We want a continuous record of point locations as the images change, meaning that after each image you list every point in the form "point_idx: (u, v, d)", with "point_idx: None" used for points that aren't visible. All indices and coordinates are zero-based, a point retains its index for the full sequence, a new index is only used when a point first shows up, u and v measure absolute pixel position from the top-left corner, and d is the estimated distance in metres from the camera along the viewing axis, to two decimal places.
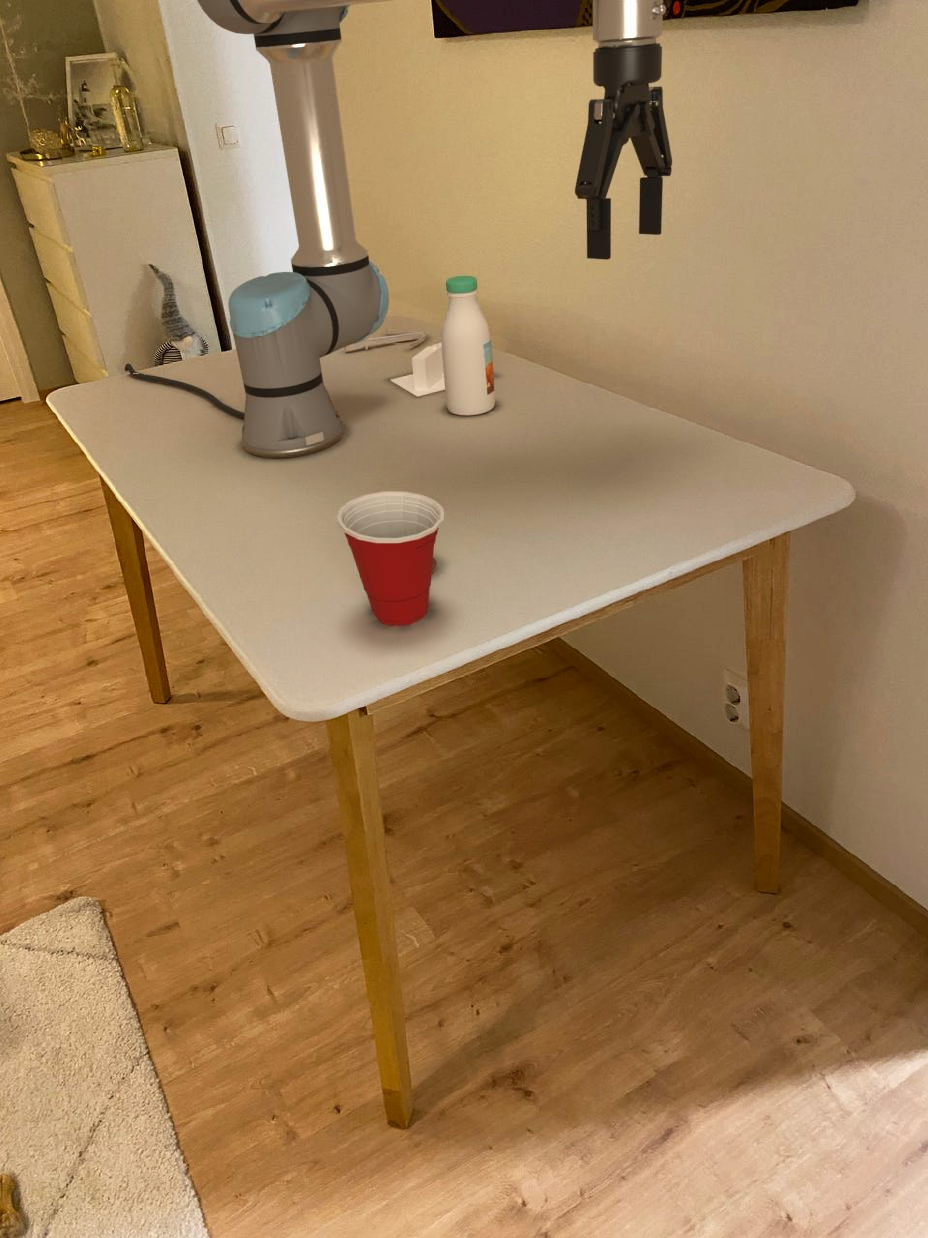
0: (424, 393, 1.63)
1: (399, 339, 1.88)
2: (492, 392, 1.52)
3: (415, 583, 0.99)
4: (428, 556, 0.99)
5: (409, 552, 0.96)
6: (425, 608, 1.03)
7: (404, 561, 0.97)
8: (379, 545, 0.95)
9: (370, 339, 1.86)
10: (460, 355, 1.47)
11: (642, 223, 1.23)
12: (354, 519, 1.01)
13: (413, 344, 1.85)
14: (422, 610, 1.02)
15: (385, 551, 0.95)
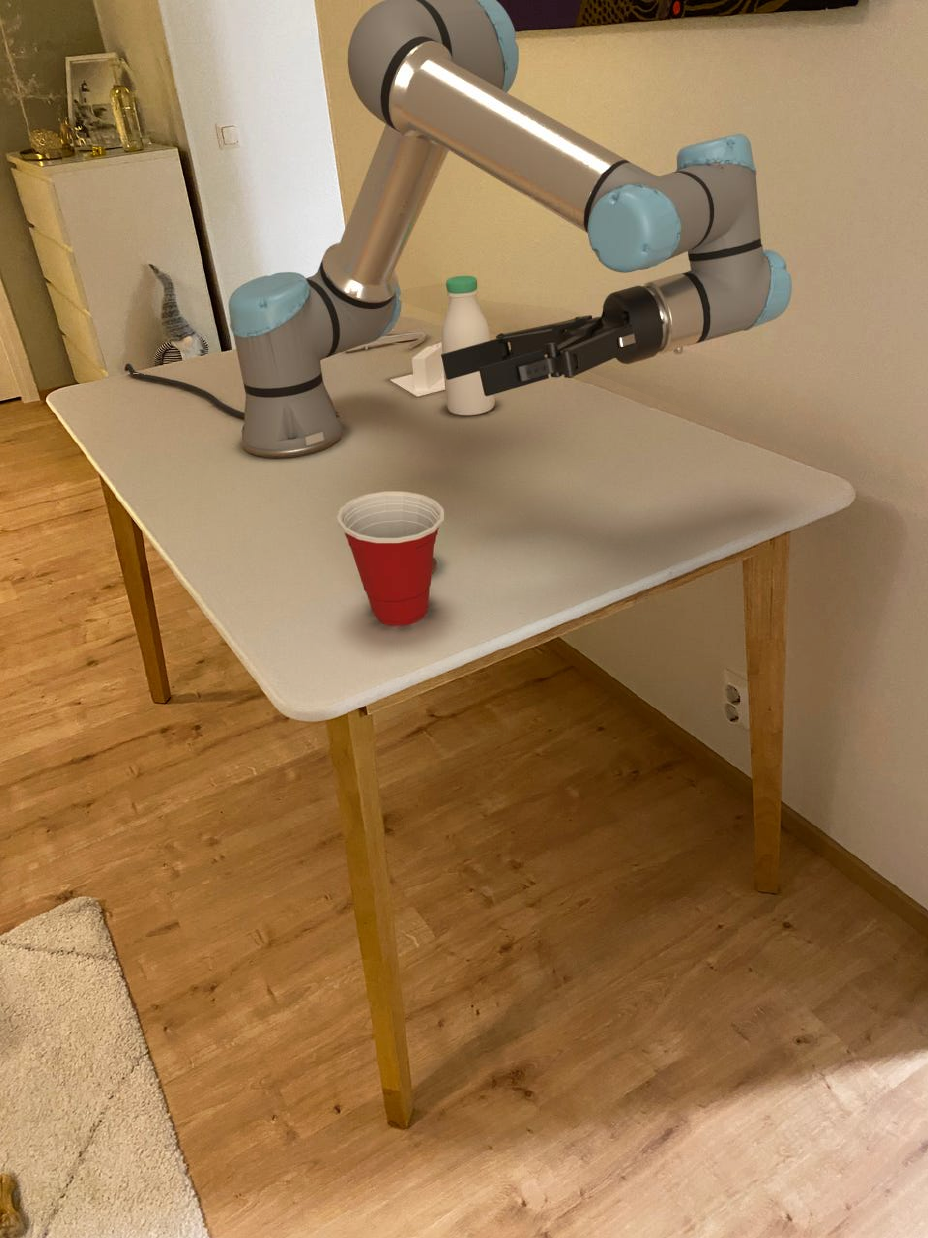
0: (424, 393, 1.63)
1: (399, 339, 1.88)
2: None
3: (415, 583, 0.99)
4: (428, 556, 0.99)
5: (409, 552, 0.96)
6: (425, 608, 1.03)
7: (404, 561, 0.97)
8: (379, 545, 0.95)
9: None
10: None
11: (454, 356, 1.05)
12: (354, 519, 1.01)
13: (413, 344, 1.85)
14: (422, 610, 1.02)
15: (385, 551, 0.95)
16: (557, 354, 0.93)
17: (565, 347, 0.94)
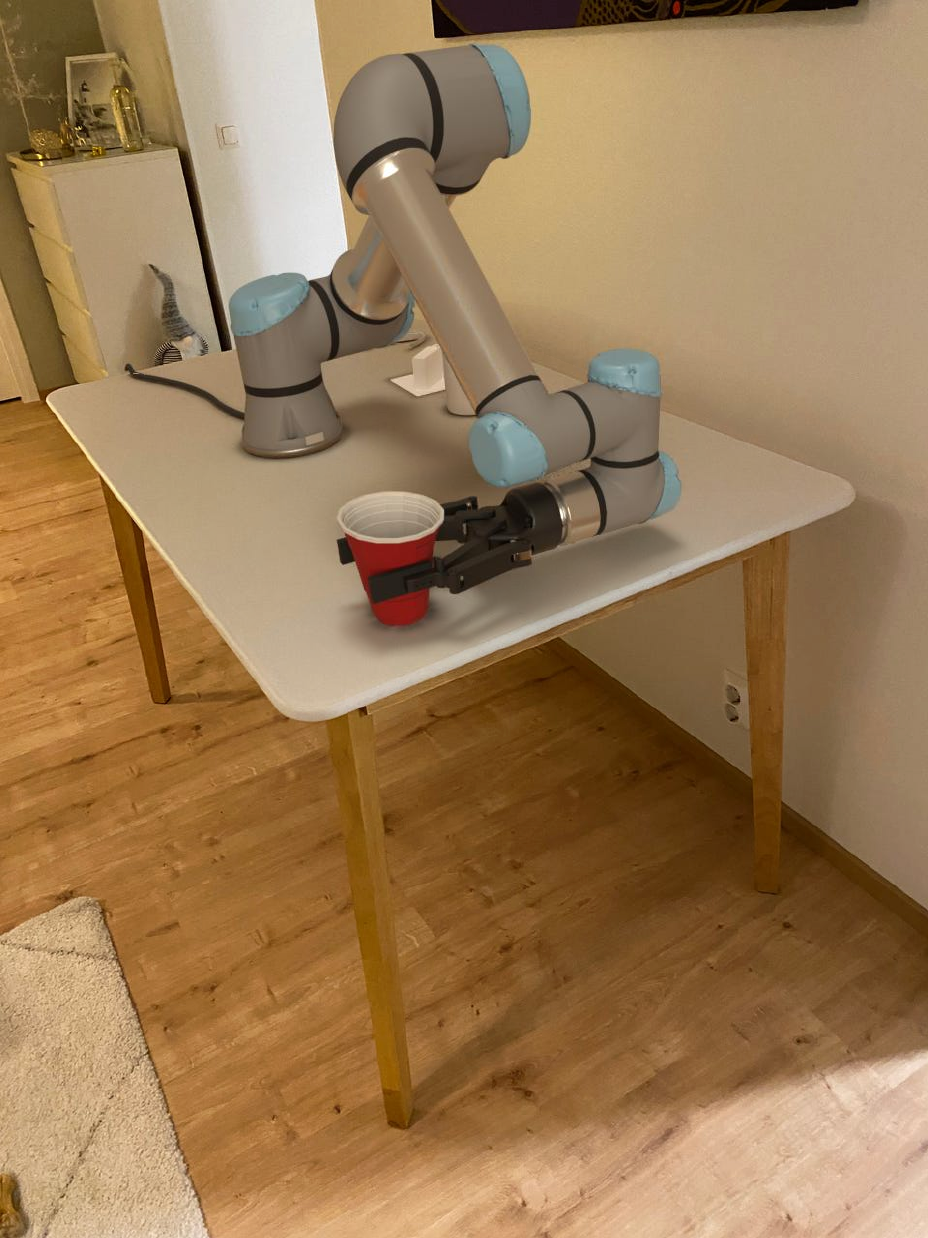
0: (424, 393, 1.63)
1: None
2: None
3: None
4: (428, 556, 0.99)
5: (409, 552, 0.96)
6: (425, 608, 1.03)
7: (404, 561, 0.97)
8: (379, 545, 0.95)
9: None
10: None
11: None
12: (354, 519, 1.01)
13: (413, 344, 1.85)
14: (422, 610, 1.02)
15: (385, 551, 0.95)
16: (443, 569, 0.97)
17: (454, 560, 0.97)
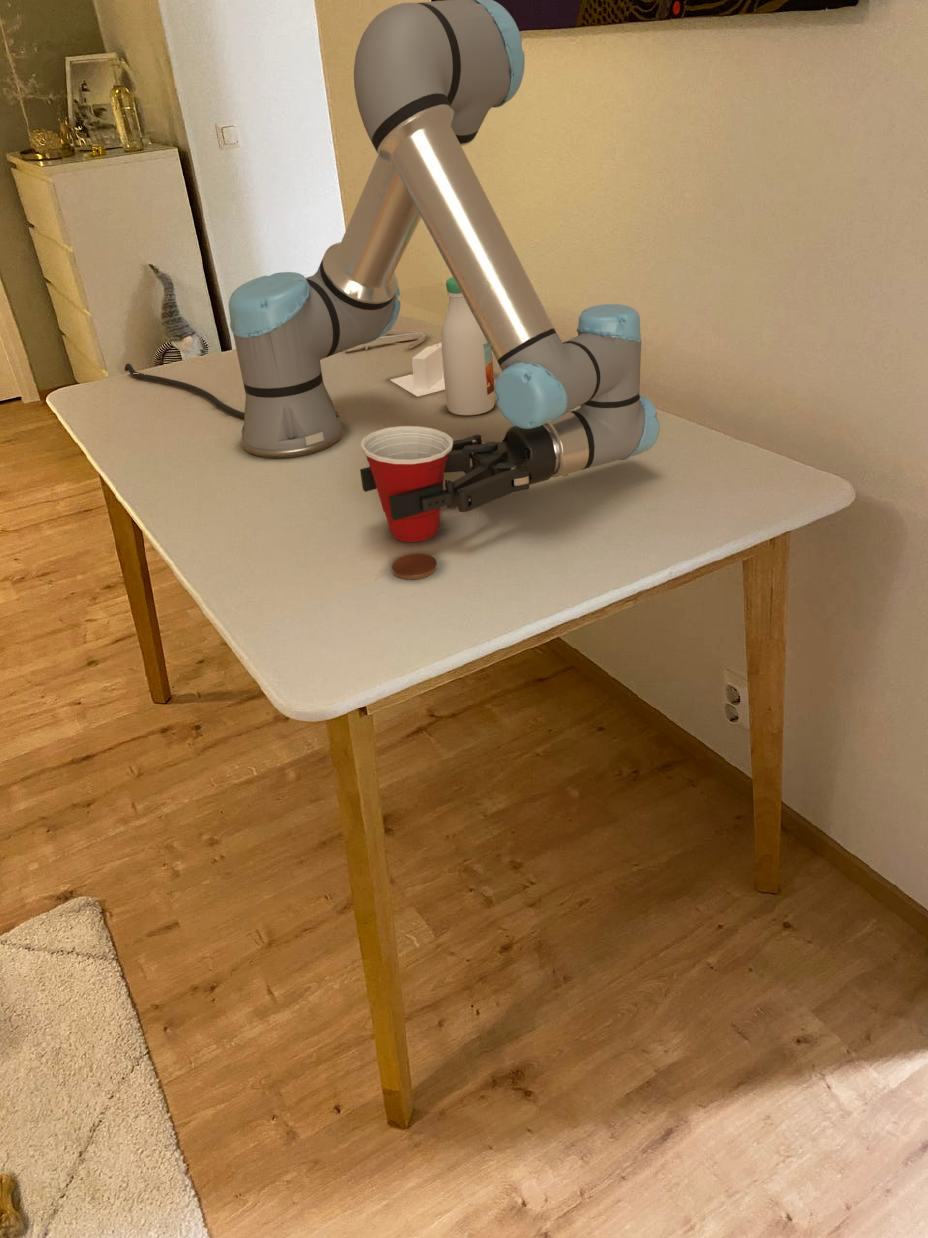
0: (424, 393, 1.63)
1: (399, 339, 1.88)
2: (492, 392, 1.52)
3: None
4: (438, 479, 1.14)
5: (422, 473, 1.12)
6: (436, 527, 1.18)
7: (417, 482, 1.12)
8: (396, 466, 1.10)
9: None
10: (460, 355, 1.47)
11: None
12: (376, 448, 1.17)
13: (413, 344, 1.85)
14: (433, 529, 1.18)
15: (401, 472, 1.11)
16: (453, 491, 1.12)
17: (462, 484, 1.13)
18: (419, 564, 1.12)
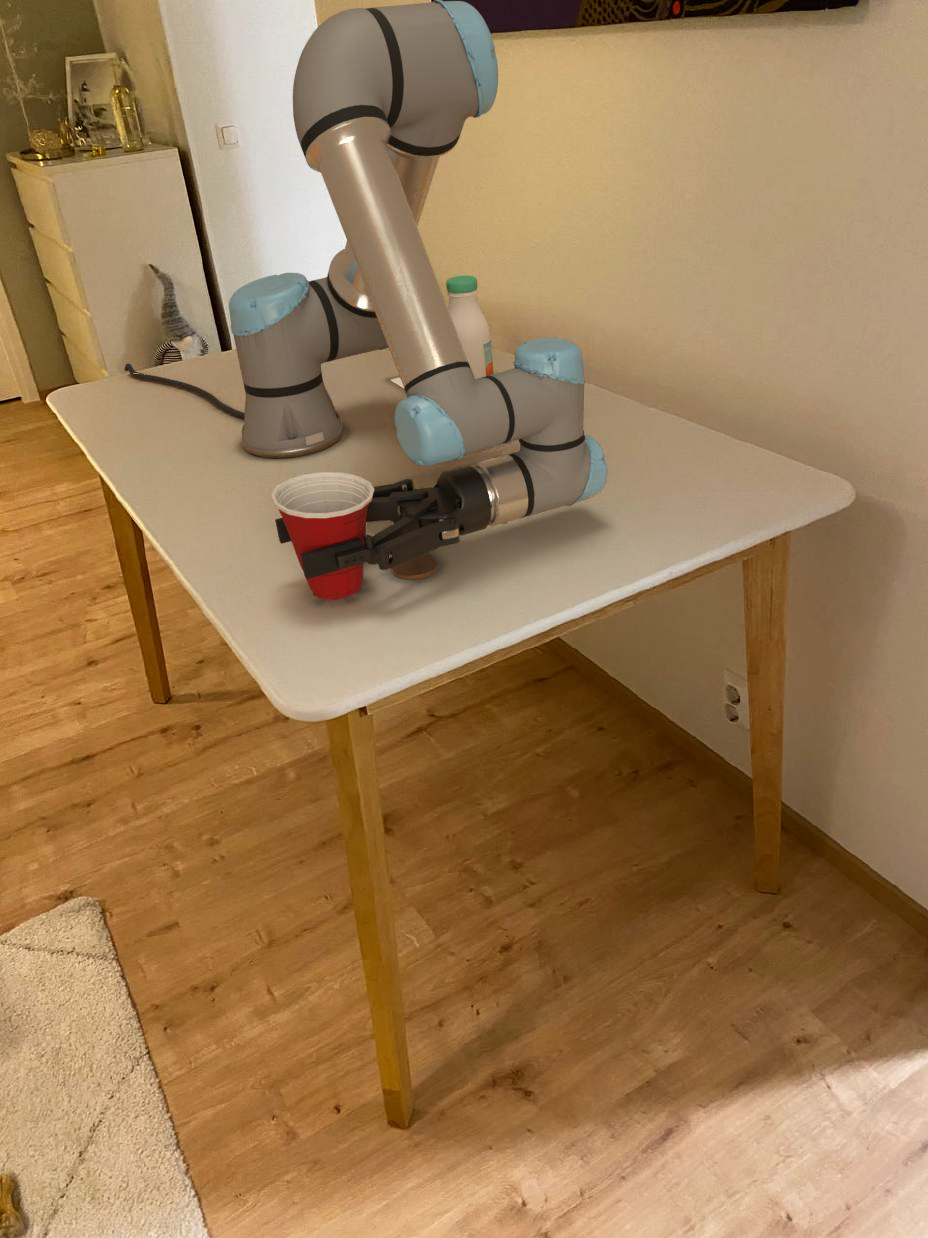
0: None
1: None
2: None
3: None
4: (358, 533, 1.03)
5: (337, 527, 1.01)
6: (358, 583, 1.07)
7: (333, 537, 1.02)
8: (308, 520, 1.00)
9: None
10: None
11: None
12: (291, 497, 1.06)
13: None
14: (354, 585, 1.07)
15: (314, 526, 1.00)
16: (372, 546, 1.02)
17: (384, 538, 1.03)
18: (419, 564, 1.12)
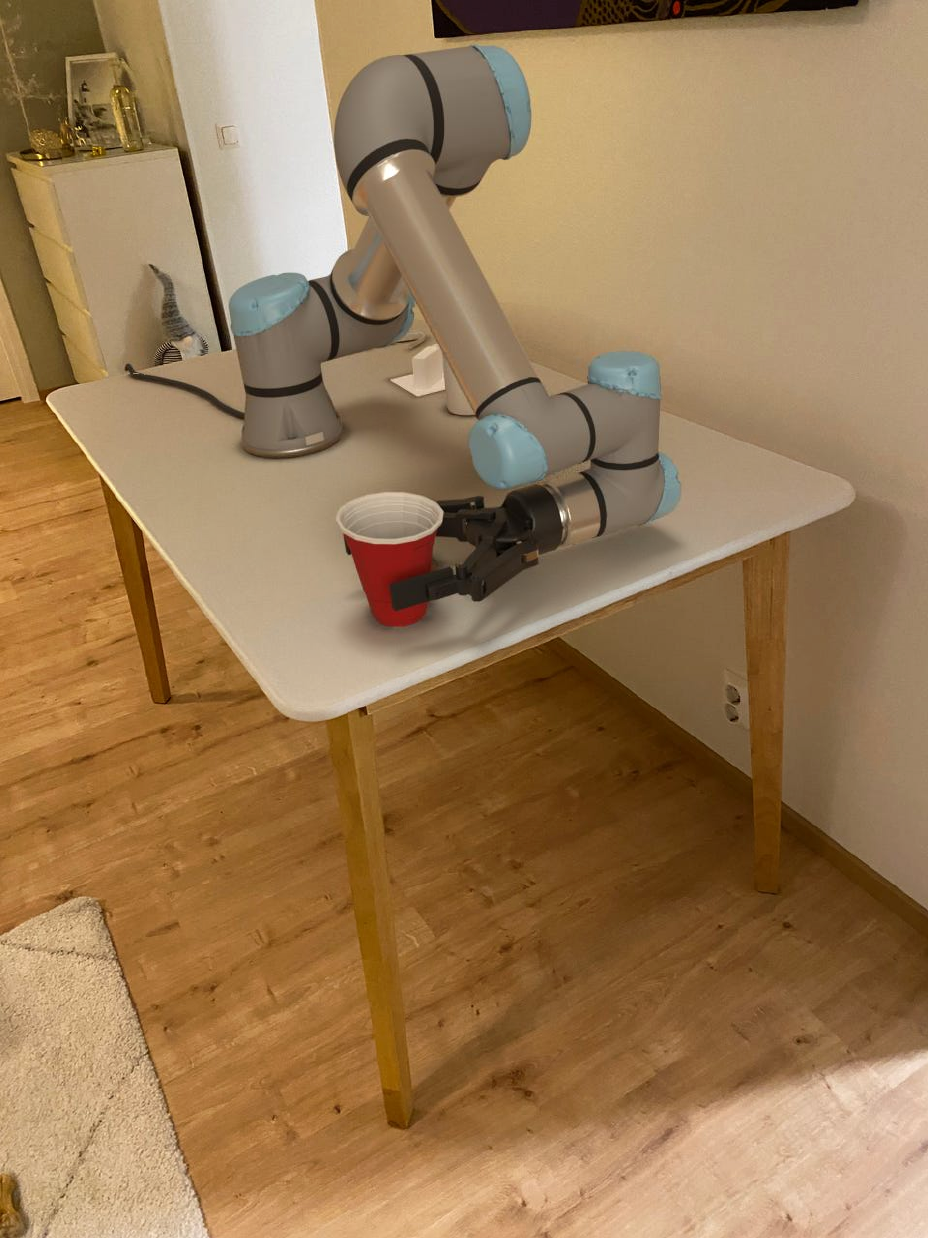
0: (424, 393, 1.63)
1: None
2: None
3: None
4: (426, 557, 0.98)
5: (407, 553, 0.96)
6: (424, 609, 1.02)
7: (401, 563, 0.96)
8: (376, 546, 0.95)
9: None
10: None
11: None
12: (354, 519, 1.01)
13: (413, 344, 1.85)
14: (420, 611, 1.02)
15: (382, 552, 0.95)
16: (466, 576, 0.95)
17: (473, 566, 0.97)
18: None
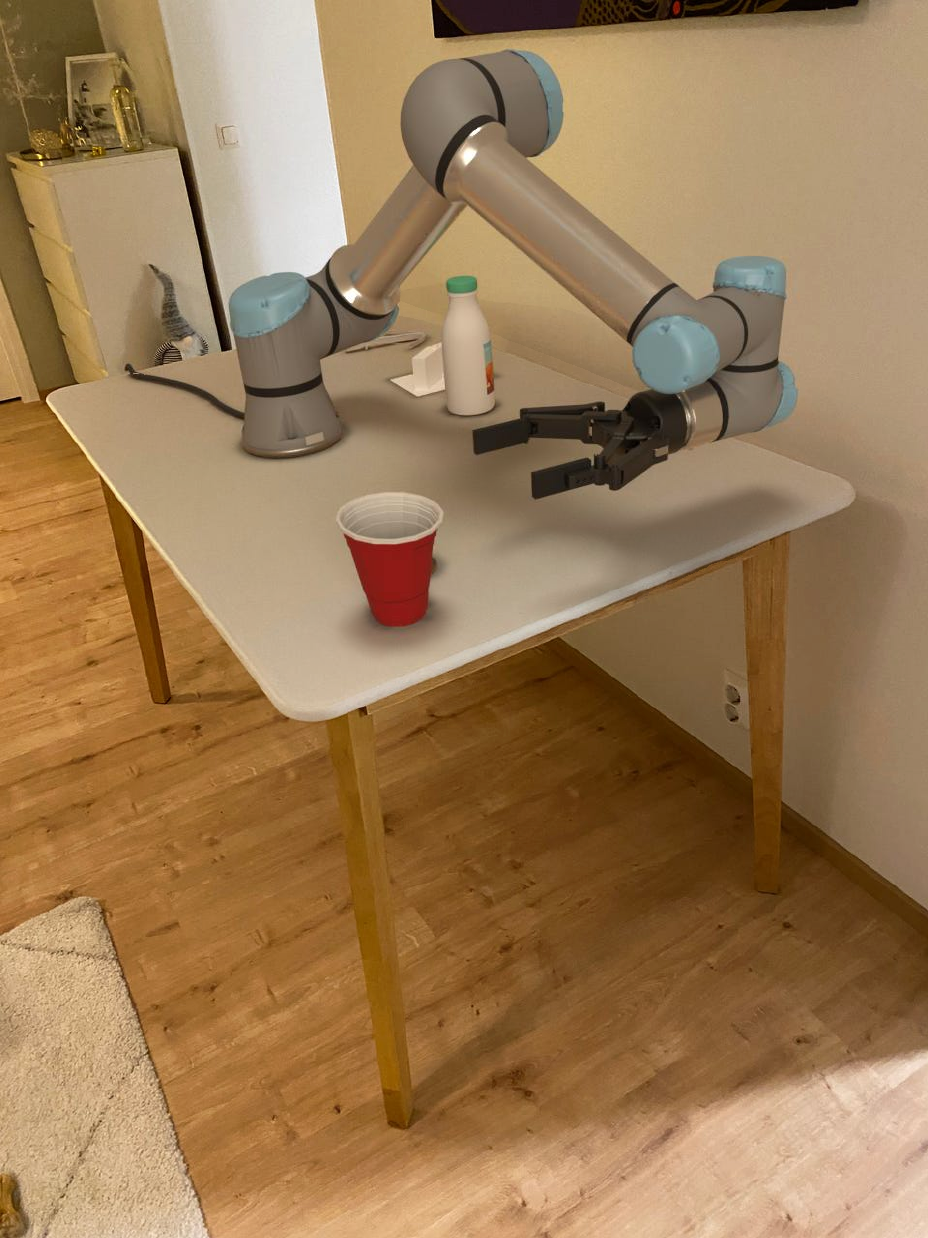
0: (424, 393, 1.63)
1: (399, 339, 1.88)
2: (492, 392, 1.52)
3: (413, 584, 0.99)
4: (426, 557, 0.98)
5: (407, 553, 0.96)
6: (424, 609, 1.02)
7: (401, 563, 0.96)
8: (376, 546, 0.95)
9: None
10: (460, 355, 1.47)
11: (485, 433, 1.08)
12: (354, 519, 1.01)
13: (413, 344, 1.85)
14: (420, 611, 1.02)
15: (382, 552, 0.95)
16: (604, 466, 0.98)
17: (610, 457, 1.00)
18: None
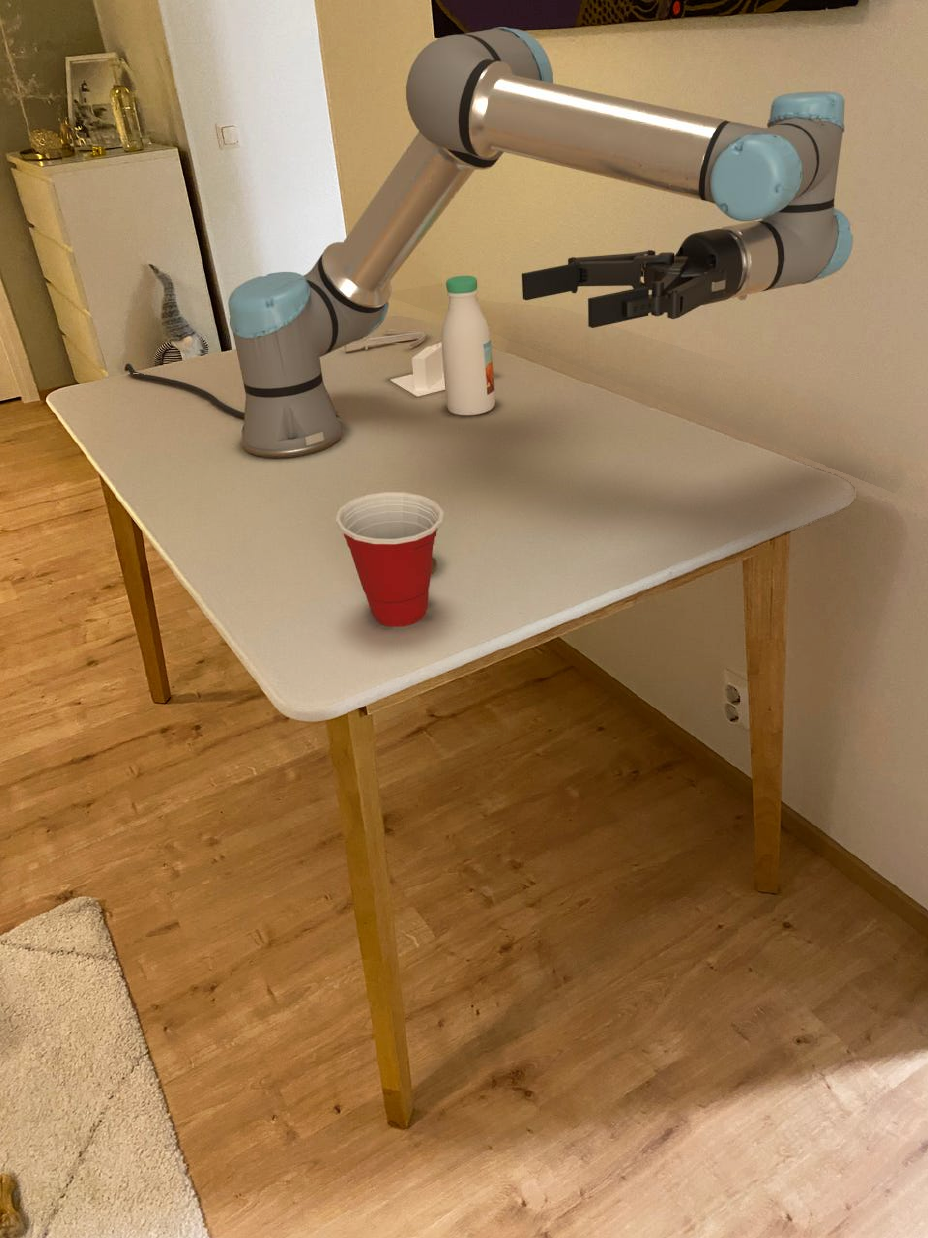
0: (424, 393, 1.63)
1: (399, 339, 1.88)
2: (492, 392, 1.52)
3: (413, 584, 0.99)
4: (426, 557, 0.98)
5: (407, 553, 0.96)
6: (424, 609, 1.02)
7: (401, 563, 0.96)
8: (376, 546, 0.95)
9: (370, 339, 1.86)
10: (460, 355, 1.47)
11: (535, 277, 1.05)
12: (354, 519, 1.01)
13: (413, 344, 1.85)
14: (420, 611, 1.02)
15: (382, 552, 0.95)
16: (662, 293, 0.96)
17: (667, 287, 0.97)
18: None
